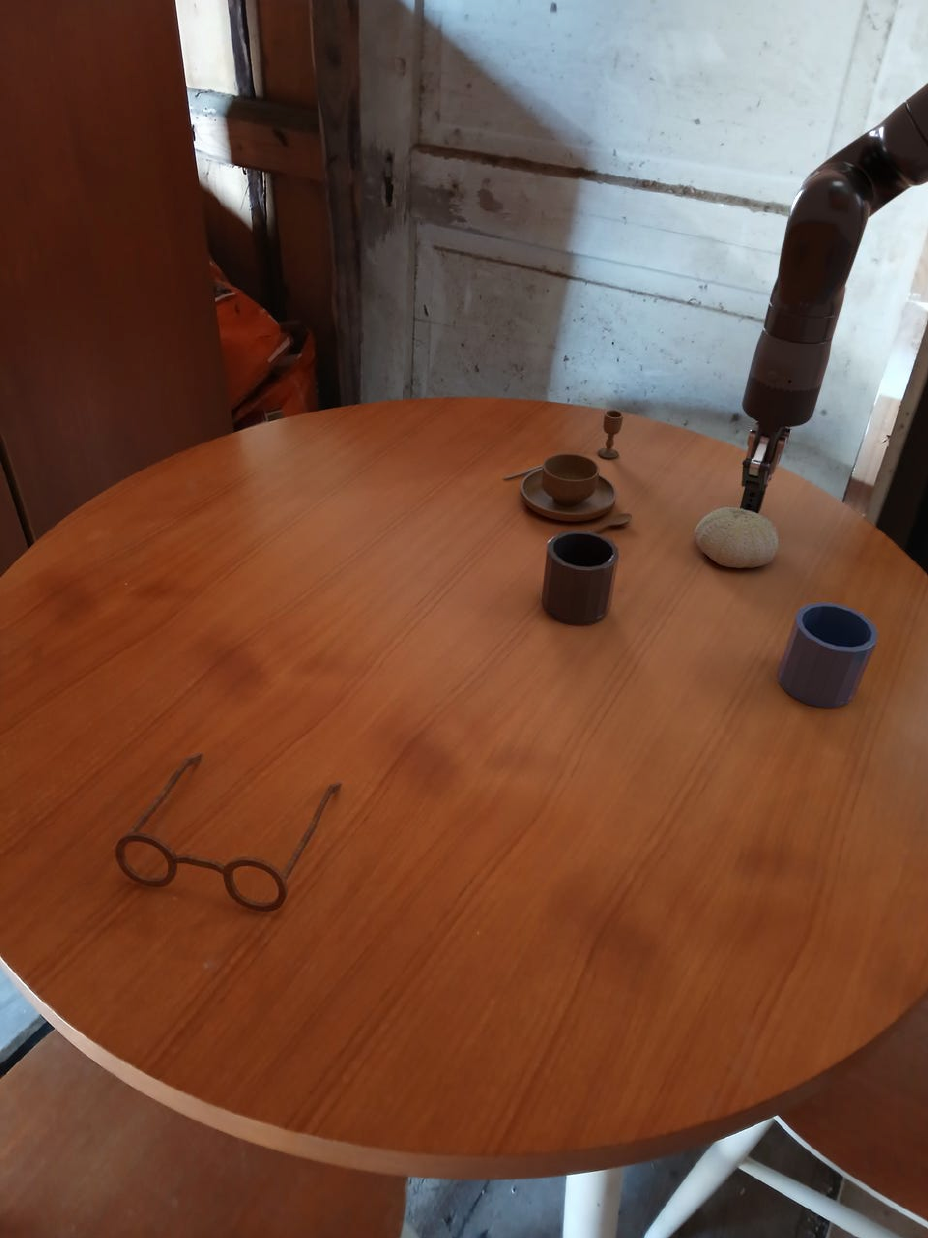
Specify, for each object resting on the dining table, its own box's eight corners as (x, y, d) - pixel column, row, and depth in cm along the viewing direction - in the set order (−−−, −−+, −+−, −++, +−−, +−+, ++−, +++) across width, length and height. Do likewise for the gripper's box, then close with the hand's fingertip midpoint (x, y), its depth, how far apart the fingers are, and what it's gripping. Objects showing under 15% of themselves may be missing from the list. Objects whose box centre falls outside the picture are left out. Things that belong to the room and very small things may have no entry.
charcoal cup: (618, 596, 97) (628, 542, 93) (594, 633, 92) (603, 577, 88) (557, 577, 100) (563, 523, 95) (530, 611, 95) (536, 556, 90)
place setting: (487, 481, 116) (489, 439, 112) (606, 445, 125) (612, 406, 121) (572, 547, 104) (577, 503, 101) (697, 502, 113) (706, 460, 110)
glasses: (119, 882, 67) (105, 840, 64) (198, 756, 77) (189, 714, 74) (286, 921, 65) (280, 878, 62) (345, 786, 75) (342, 744, 72)
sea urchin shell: (717, 505, 109) (770, 481, 103) (747, 562, 110) (801, 543, 103) (673, 532, 104) (726, 509, 97) (705, 592, 104) (760, 574, 98)
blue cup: (859, 673, 89) (882, 617, 84) (848, 718, 84) (871, 660, 79) (785, 649, 91) (804, 594, 87) (770, 692, 86) (788, 635, 82)
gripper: (810, 404, 90) (768, 547, 101) (834, 358, 99) (793, 494, 110) (736, 387, 93) (702, 528, 104) (765, 344, 102) (732, 478, 113)
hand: (749, 511), depth 107 cm, fingers closed
